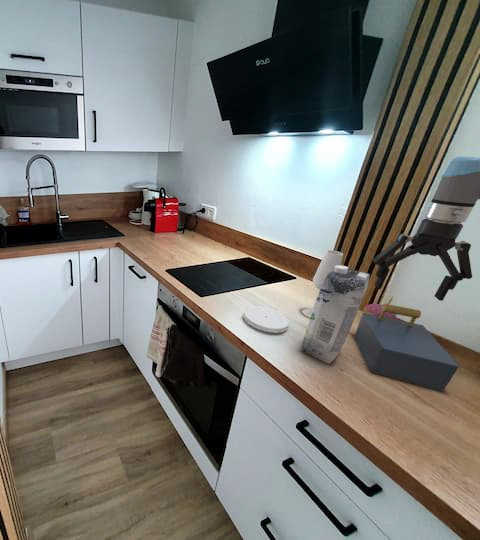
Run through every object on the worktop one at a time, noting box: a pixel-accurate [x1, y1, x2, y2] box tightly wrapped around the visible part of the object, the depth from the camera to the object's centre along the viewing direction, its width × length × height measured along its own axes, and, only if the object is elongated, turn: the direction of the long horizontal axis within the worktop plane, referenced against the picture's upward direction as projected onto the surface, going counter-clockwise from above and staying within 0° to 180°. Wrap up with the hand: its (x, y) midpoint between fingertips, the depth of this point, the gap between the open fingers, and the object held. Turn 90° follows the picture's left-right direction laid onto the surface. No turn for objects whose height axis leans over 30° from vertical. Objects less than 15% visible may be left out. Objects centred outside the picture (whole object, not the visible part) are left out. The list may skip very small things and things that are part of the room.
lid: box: [361, 303, 460, 370], centre depth 79 cm, size 20×15×6 cm
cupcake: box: [363, 296, 398, 320], centre depth 97 cm, size 9×8×12 cm
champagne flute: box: [301, 249, 344, 319], centre depth 99 cm, size 7×7×24 cm
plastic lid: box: [243, 305, 290, 334], centre depth 97 cm, size 14×14×2 cm
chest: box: [354, 316, 458, 392], centre depth 81 cm, size 19×15×7 cm
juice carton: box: [301, 264, 371, 364], centre depth 79 cm, size 9×10×27 cm
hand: (406, 292), depth 82 cm, fingers open, 13 cm apart
